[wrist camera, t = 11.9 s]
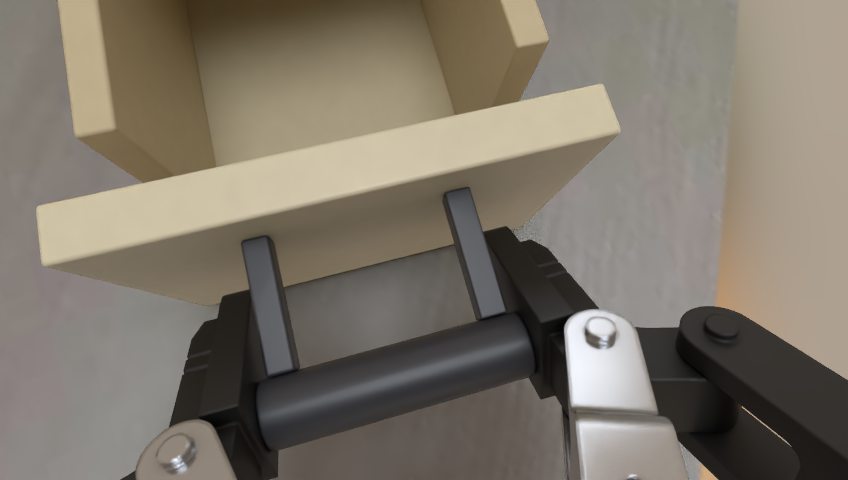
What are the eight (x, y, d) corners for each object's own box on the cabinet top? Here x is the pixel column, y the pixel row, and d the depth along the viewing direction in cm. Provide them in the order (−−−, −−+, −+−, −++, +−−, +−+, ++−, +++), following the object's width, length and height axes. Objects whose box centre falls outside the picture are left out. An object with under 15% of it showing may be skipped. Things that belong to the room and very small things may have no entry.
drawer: (560, 343, 17) (703, 336, 9) (228, 438, 15) (65, 525, 8) (420, -91, 20) (437, -353, 13) (145, -47, 19) (-19, -311, 11)
